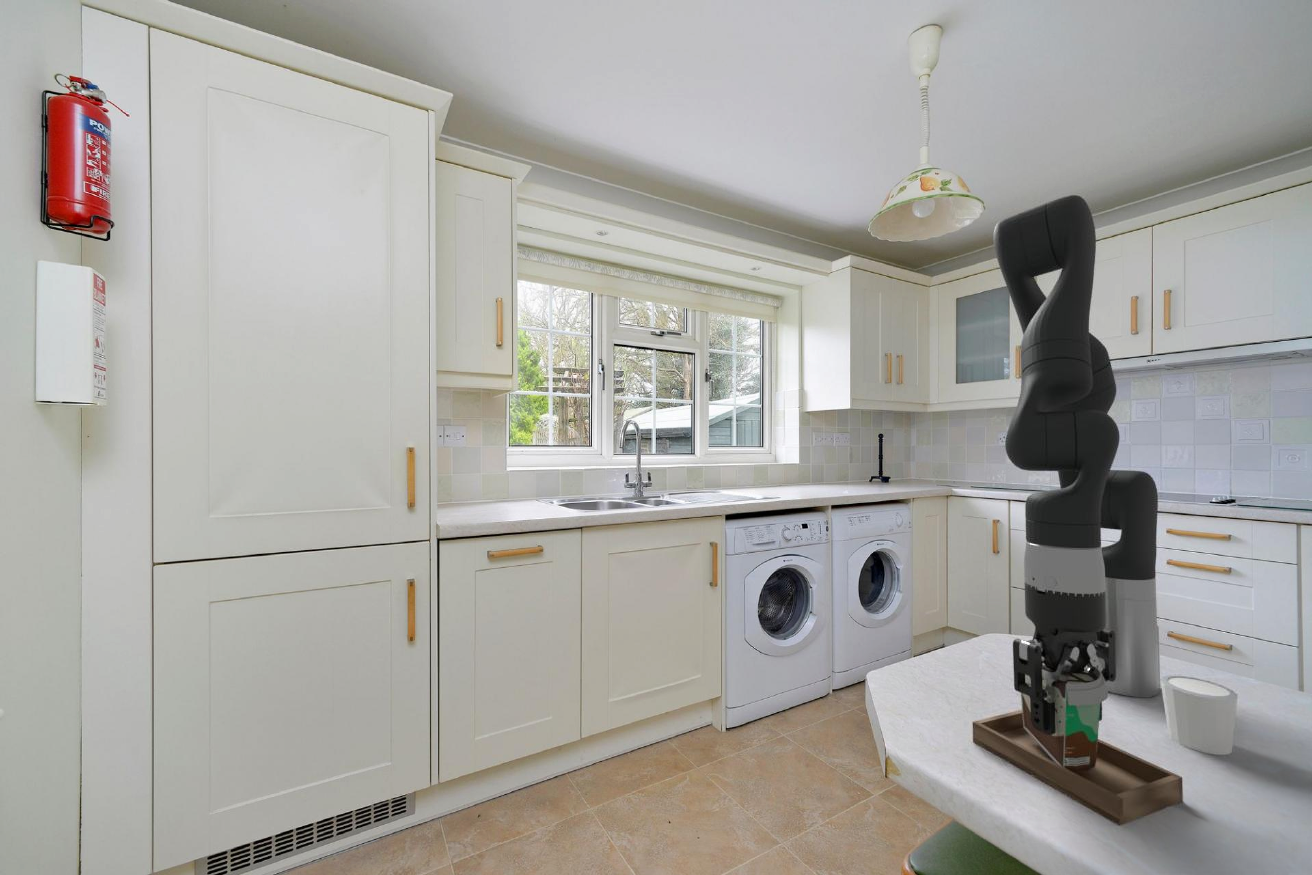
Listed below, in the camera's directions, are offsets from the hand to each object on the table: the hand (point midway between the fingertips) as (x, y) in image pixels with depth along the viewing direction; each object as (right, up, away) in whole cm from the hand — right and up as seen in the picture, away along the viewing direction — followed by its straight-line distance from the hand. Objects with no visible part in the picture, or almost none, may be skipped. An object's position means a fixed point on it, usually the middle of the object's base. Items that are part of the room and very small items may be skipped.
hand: (1067, 724), depth 63 cm
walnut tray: (0, -5, 0) cm, 5 cm away
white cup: (+20, -5, +5) cm, 22 cm away
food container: (+1, -3, 0) cm, 3 cm away
